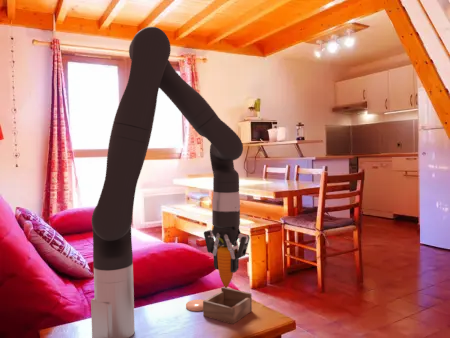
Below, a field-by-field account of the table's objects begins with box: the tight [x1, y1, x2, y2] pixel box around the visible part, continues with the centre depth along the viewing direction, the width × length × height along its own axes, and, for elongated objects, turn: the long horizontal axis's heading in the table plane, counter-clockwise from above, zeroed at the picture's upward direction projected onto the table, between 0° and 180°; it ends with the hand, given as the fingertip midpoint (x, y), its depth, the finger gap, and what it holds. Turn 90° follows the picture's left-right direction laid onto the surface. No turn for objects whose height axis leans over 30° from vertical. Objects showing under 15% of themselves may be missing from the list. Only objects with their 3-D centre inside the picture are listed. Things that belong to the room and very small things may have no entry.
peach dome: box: [185, 298, 206, 312], centre depth 109 cm, size 7×7×1 cm
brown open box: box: [202, 286, 253, 325], centre depth 103 cm, size 10×10×5 cm
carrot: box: [217, 238, 234, 288], centre depth 103 cm, size 5×5×15 cm
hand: (226, 270), depth 103 cm, fingers closed on carrot, 4 cm apart
